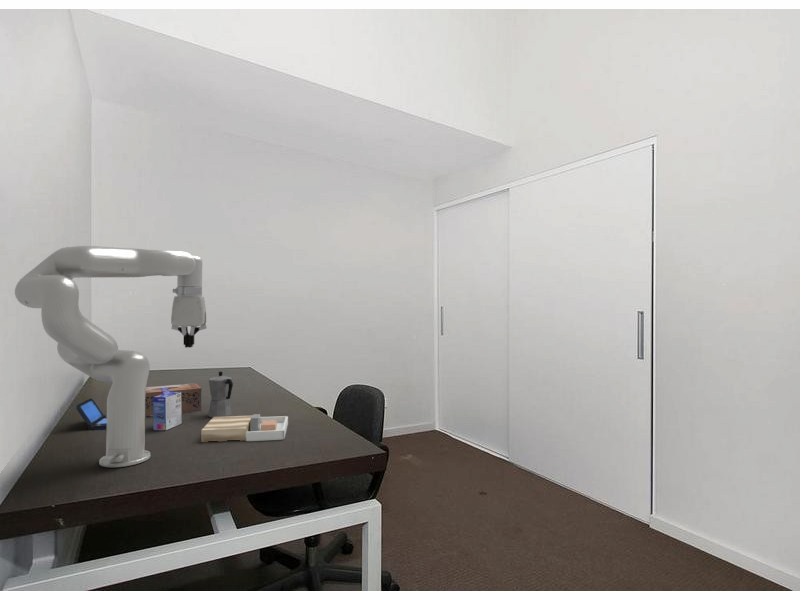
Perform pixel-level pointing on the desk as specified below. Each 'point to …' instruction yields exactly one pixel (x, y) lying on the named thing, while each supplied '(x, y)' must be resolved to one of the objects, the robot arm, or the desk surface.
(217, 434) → the plate
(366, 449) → the desk surface
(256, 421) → the slate tile
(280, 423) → the box
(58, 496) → the desk surface
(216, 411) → the coffeepot
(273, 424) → the salmon pink block
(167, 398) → the ink cartridge box
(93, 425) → the handheld game console
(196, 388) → the tissue box cover
